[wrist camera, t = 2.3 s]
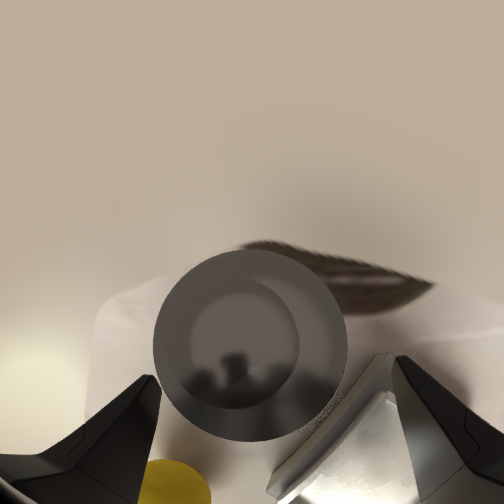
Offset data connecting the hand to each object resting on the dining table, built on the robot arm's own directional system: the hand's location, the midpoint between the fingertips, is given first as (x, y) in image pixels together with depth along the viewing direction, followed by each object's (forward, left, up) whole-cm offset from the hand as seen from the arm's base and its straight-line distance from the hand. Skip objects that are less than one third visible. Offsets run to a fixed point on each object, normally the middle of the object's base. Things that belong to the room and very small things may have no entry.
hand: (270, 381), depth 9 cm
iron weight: (+1, -1, -9) cm, 9 cm away
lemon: (0, +11, -9) cm, 15 cm away
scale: (-9, +1, -9) cm, 13 cm away
